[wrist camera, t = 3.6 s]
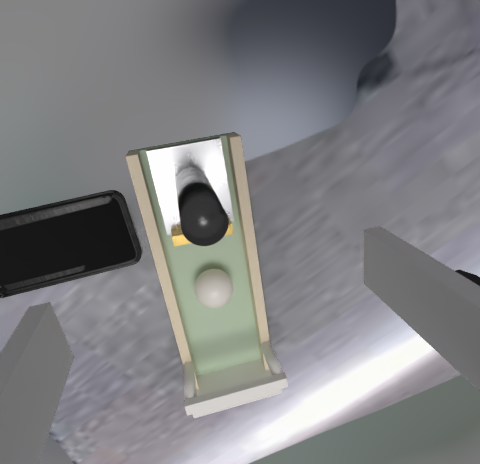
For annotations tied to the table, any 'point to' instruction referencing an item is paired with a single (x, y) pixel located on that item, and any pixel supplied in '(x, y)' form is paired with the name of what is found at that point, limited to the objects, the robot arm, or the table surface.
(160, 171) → the rod
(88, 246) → the phone
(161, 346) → the table surface
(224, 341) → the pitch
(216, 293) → the ball
